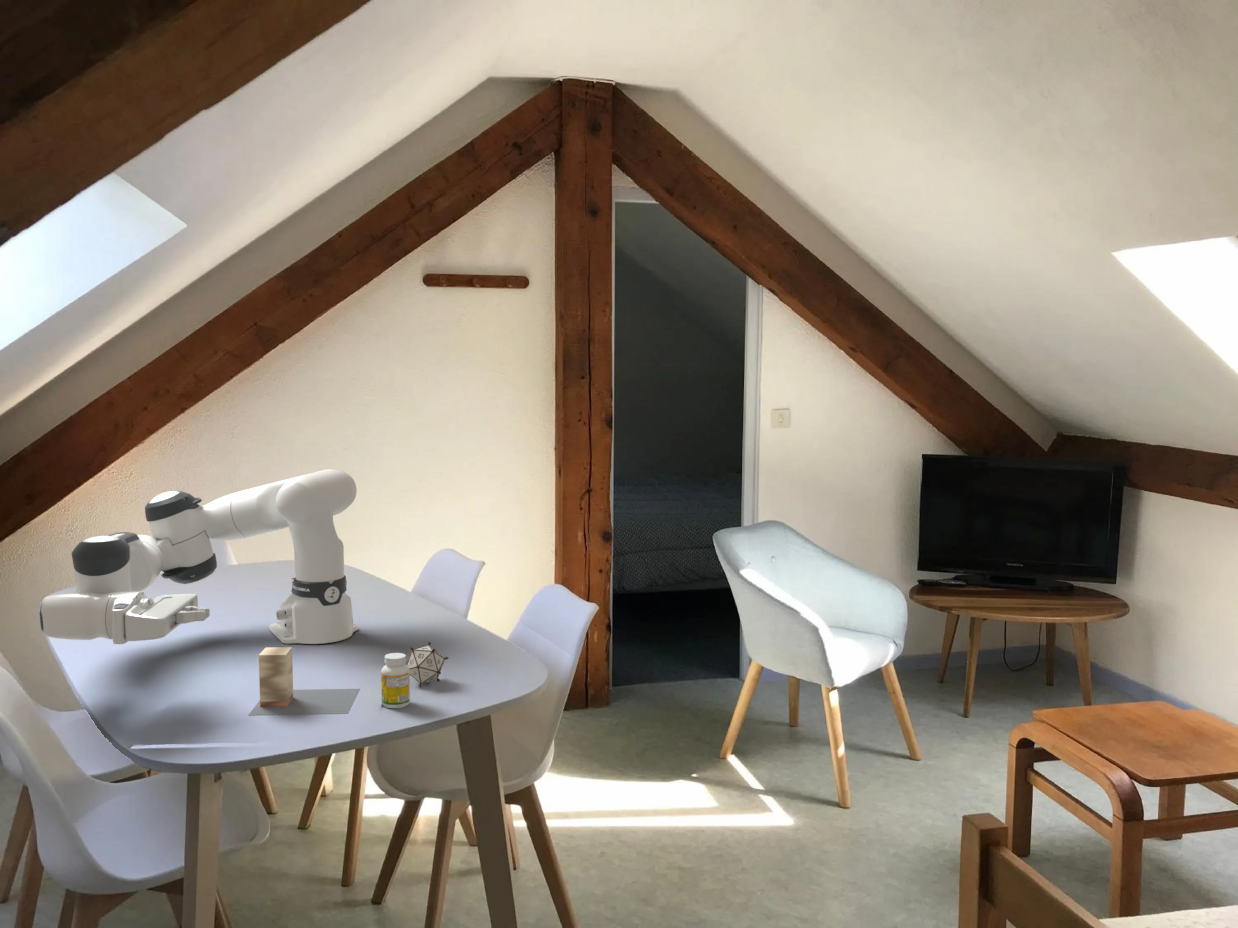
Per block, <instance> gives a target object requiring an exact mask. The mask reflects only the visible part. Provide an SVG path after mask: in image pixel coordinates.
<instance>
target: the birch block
mask: <svg viewBox="0 0 1238 928" xmlns="http://www.w3.org/2000/svg"><path fill="white" fill-rule="evenodd" d="M293 669H294V668H293V647H292V646H285V647H283V646H280V647H278V646H277V647H275V646H274V647H270V646H269V647H264V649H263V650H262V651H261V652H260V653H259V654H258V675H259V676H258V677H259V700H260V707H274V706H288V705H289V703H290V702H291V700H292V699H293V690H294V679H293V678H294V677H293V676H294V674H293V672H294V671H293Z"/></svg>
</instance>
